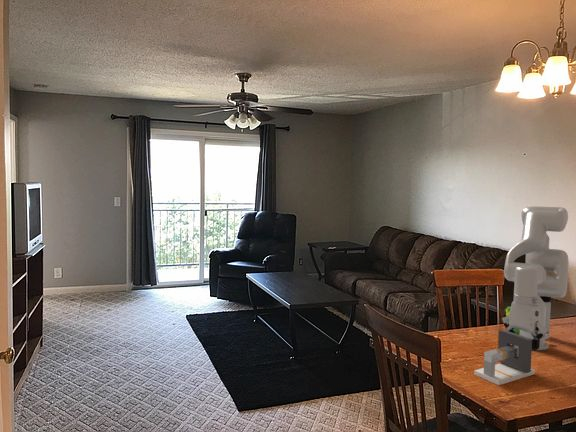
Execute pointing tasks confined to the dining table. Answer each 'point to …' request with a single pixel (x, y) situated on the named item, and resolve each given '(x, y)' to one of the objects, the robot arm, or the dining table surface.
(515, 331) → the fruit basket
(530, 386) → the dining table surface
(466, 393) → the dining table surface
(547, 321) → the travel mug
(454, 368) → the dining table surface
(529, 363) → the collar
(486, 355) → the grey square bar
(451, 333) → the dining table surface
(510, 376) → the stand
